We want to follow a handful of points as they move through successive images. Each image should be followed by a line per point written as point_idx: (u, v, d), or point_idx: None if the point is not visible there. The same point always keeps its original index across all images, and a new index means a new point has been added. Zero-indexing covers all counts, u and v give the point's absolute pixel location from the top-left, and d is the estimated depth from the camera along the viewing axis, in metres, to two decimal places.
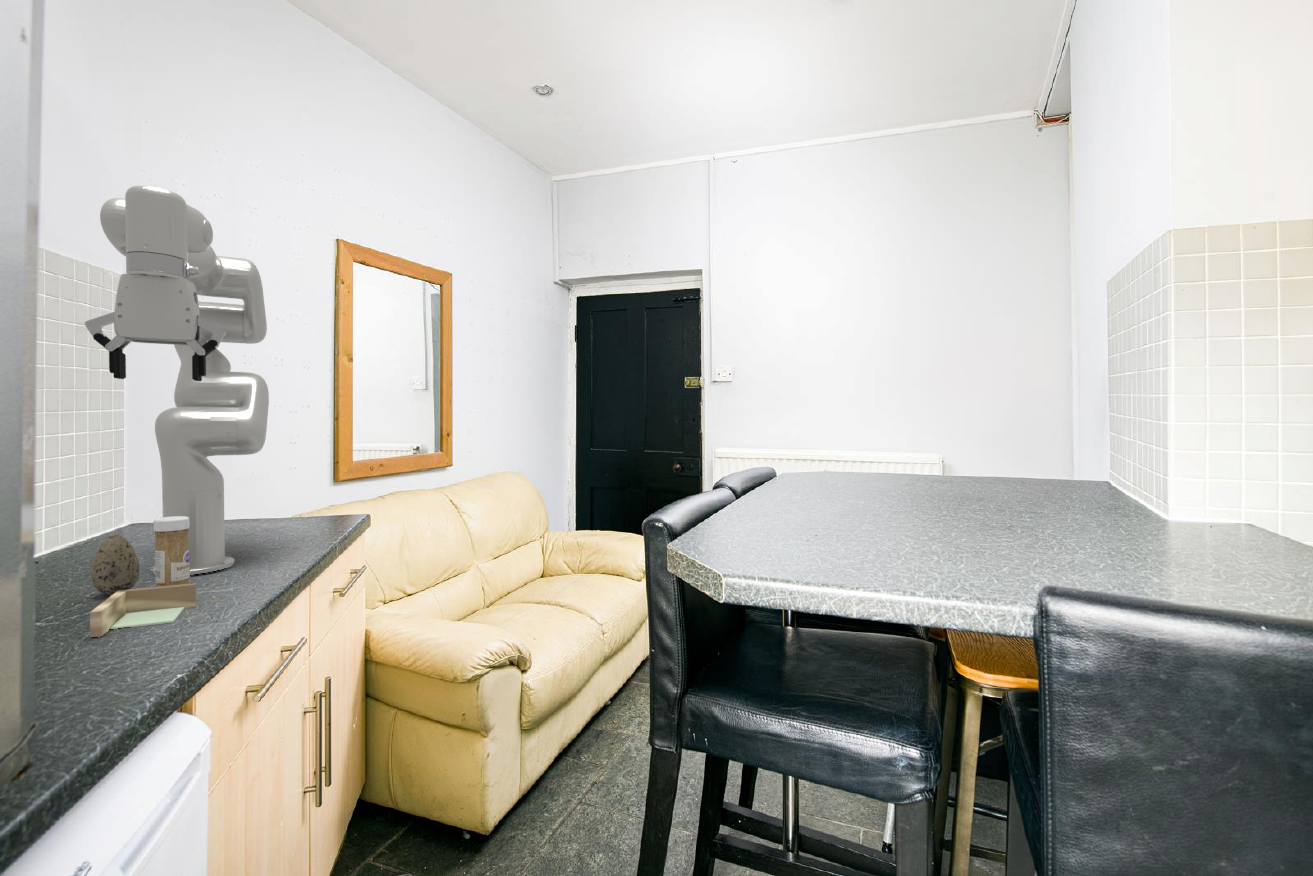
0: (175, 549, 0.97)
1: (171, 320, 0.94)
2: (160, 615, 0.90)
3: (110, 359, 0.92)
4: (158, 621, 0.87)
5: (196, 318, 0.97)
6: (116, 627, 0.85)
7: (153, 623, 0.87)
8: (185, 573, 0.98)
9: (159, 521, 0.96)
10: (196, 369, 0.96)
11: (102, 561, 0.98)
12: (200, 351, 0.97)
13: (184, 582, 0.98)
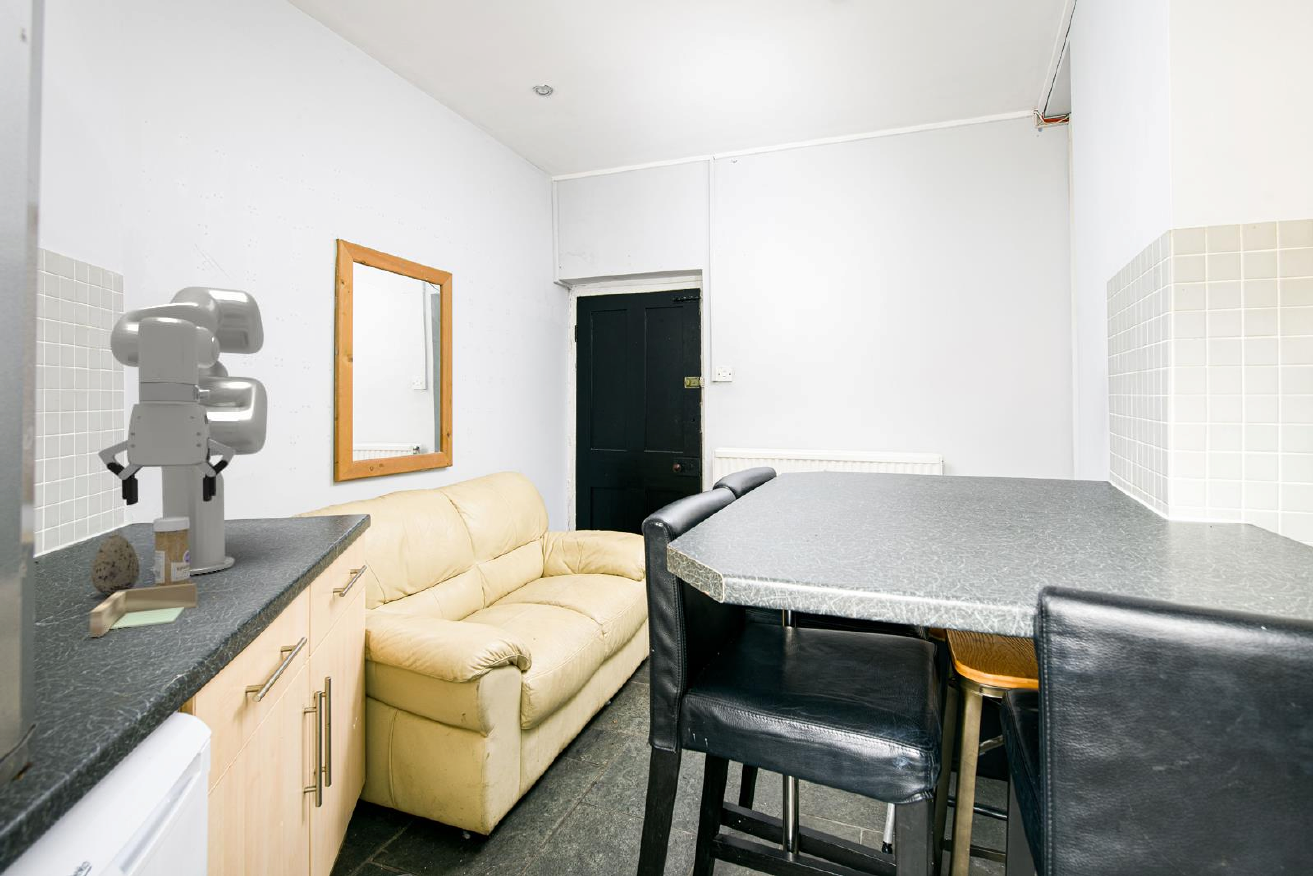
0: (175, 549, 0.97)
1: (182, 446, 0.96)
2: (160, 615, 0.90)
3: (123, 487, 0.94)
4: (158, 621, 0.87)
5: (207, 441, 0.99)
6: (116, 627, 0.85)
7: (153, 623, 0.87)
8: (185, 573, 0.98)
9: (159, 521, 0.96)
10: (207, 491, 0.98)
11: (102, 561, 0.98)
12: (210, 473, 0.99)
13: (184, 582, 0.98)
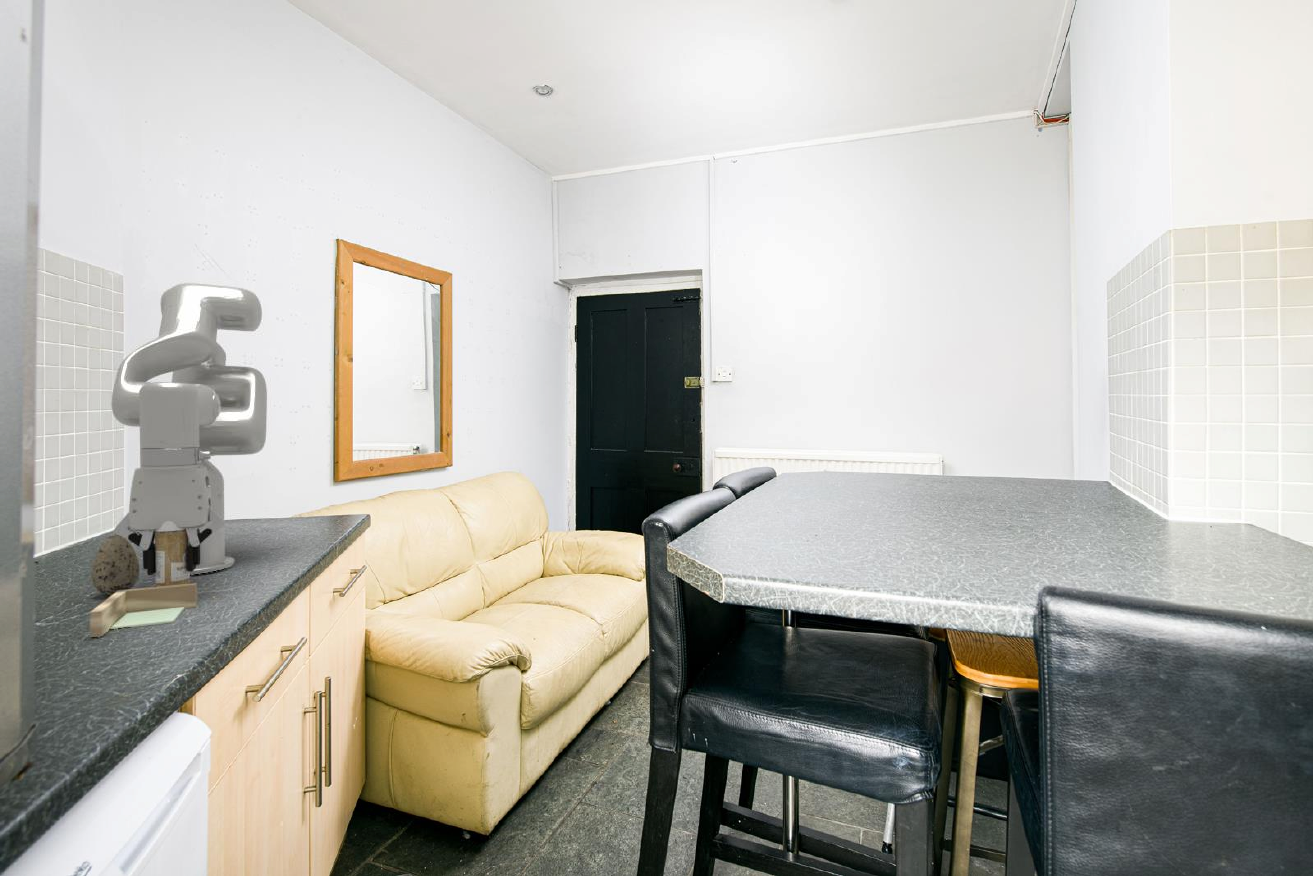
0: (175, 549, 0.97)
1: (184, 509, 0.97)
2: (160, 615, 0.90)
3: (144, 557, 0.96)
4: (158, 621, 0.87)
5: (208, 502, 0.99)
6: (116, 627, 0.85)
7: (153, 623, 0.87)
8: (185, 573, 0.98)
9: None
10: (191, 561, 0.98)
11: (102, 561, 0.98)
12: (194, 542, 0.98)
13: (184, 582, 0.98)
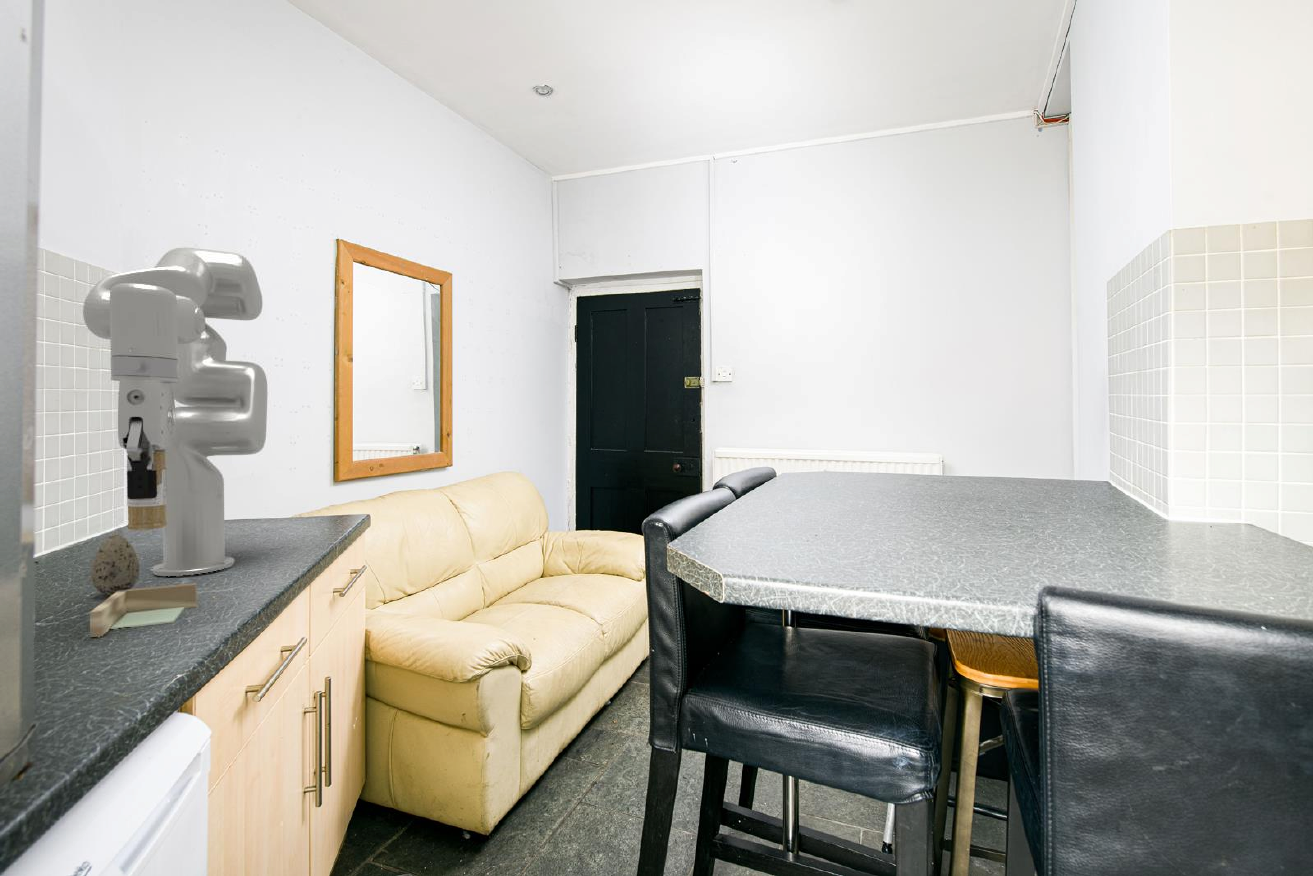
0: None
1: None
2: (160, 615, 0.90)
3: None
4: (158, 621, 0.87)
5: (126, 421, 0.83)
6: (116, 627, 0.85)
7: (153, 623, 0.87)
8: (134, 499, 0.87)
9: None
10: (127, 487, 0.86)
11: (102, 561, 0.98)
12: None
13: (133, 510, 0.87)
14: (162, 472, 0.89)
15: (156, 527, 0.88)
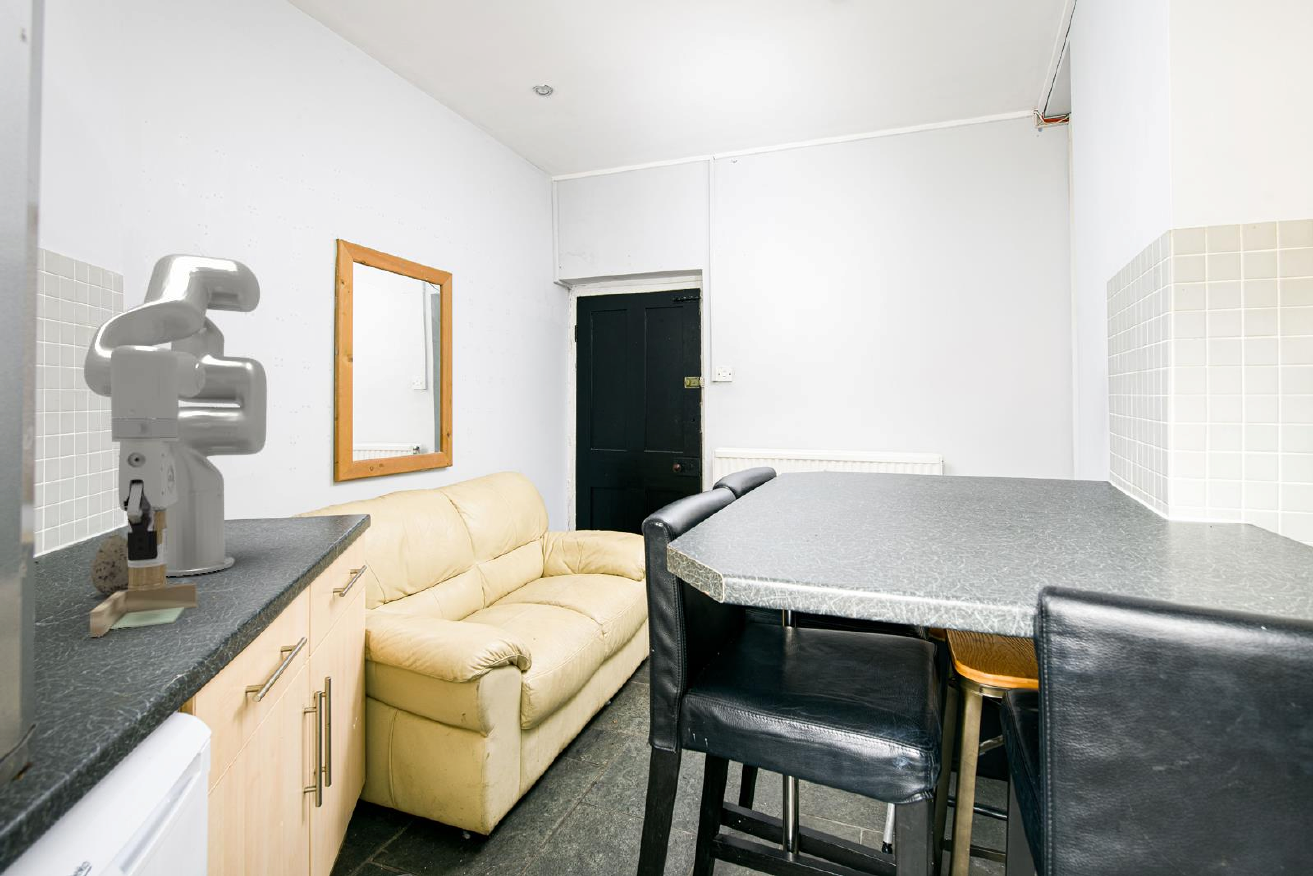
0: None
1: None
2: (160, 615, 0.90)
3: None
4: (158, 621, 0.87)
5: (127, 484, 0.84)
6: (116, 627, 0.85)
7: (153, 623, 0.87)
8: None
9: None
10: (128, 549, 0.86)
11: (102, 561, 0.98)
12: None
13: (133, 571, 0.87)
14: (162, 531, 0.89)
15: (156, 587, 0.88)
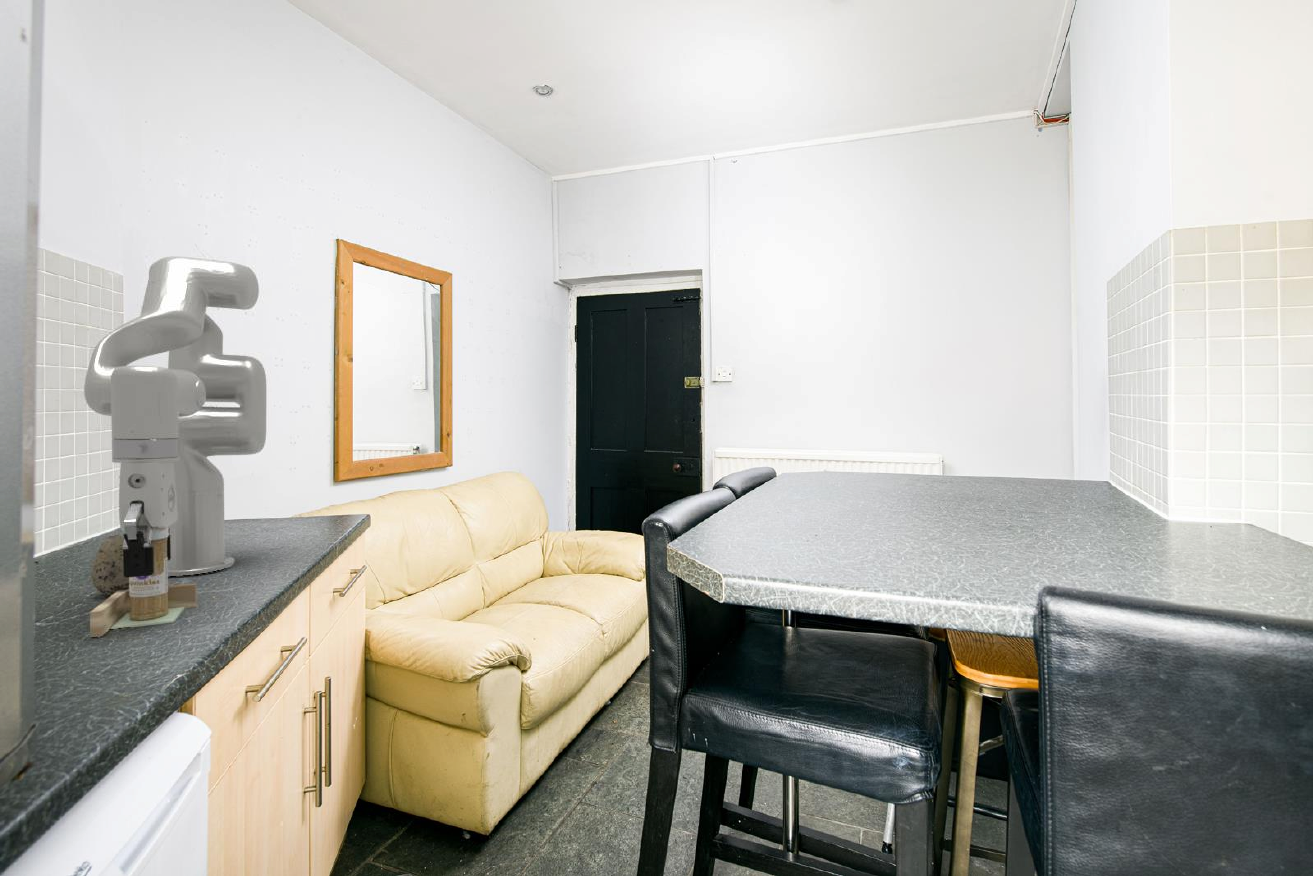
0: None
1: None
2: None
3: None
4: (158, 621, 0.87)
5: (127, 505, 0.84)
6: (116, 627, 0.85)
7: (153, 623, 0.87)
8: (136, 590, 0.87)
9: None
10: (123, 565, 0.84)
11: (102, 561, 0.98)
12: None
13: (135, 600, 0.87)
14: (164, 561, 0.89)
15: (158, 616, 0.89)
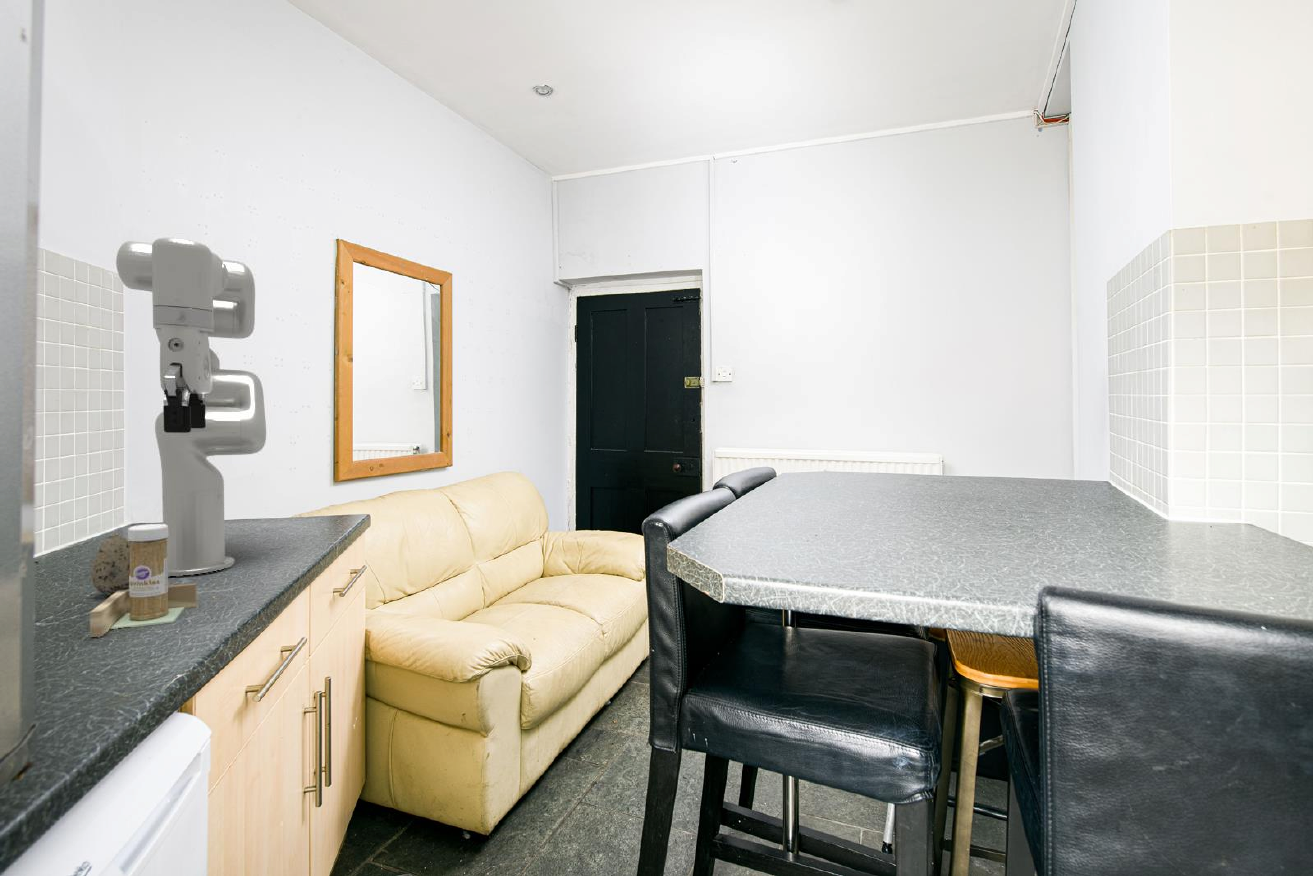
0: (130, 561, 0.88)
1: None
2: None
3: None
4: (158, 621, 0.87)
5: (167, 366, 0.91)
6: (116, 627, 0.85)
7: (153, 623, 0.87)
8: (136, 590, 0.87)
9: (134, 527, 0.89)
10: (163, 421, 0.91)
11: (102, 561, 0.98)
12: None
13: (135, 600, 0.87)
14: (164, 561, 0.89)
15: (158, 616, 0.89)
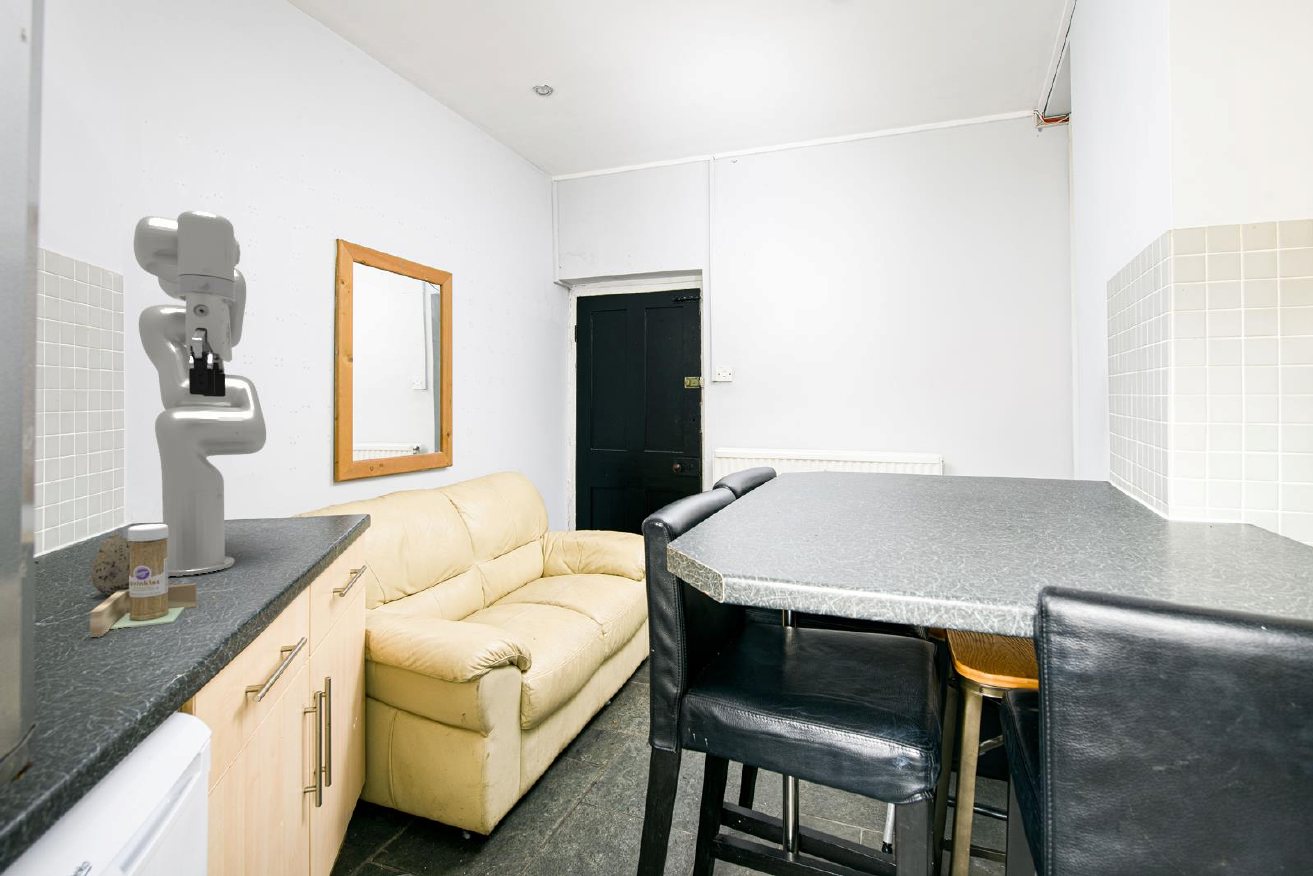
0: (130, 561, 0.88)
1: None
2: None
3: None
4: (158, 621, 0.87)
5: (193, 331, 0.95)
6: (116, 627, 0.85)
7: (153, 623, 0.87)
8: (136, 590, 0.87)
9: (134, 527, 0.89)
10: (189, 383, 0.95)
11: (102, 561, 0.98)
12: None
13: (135, 600, 0.87)
14: (164, 561, 0.89)
15: (158, 616, 0.89)
